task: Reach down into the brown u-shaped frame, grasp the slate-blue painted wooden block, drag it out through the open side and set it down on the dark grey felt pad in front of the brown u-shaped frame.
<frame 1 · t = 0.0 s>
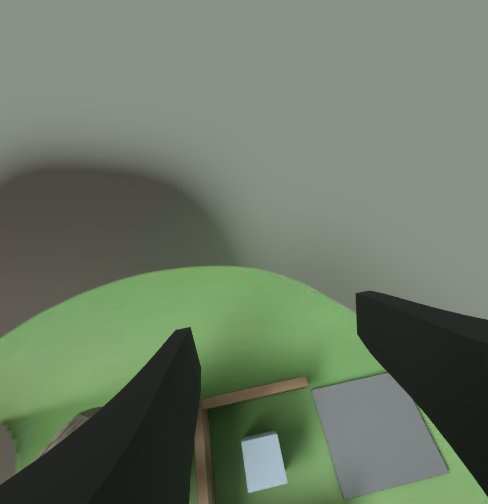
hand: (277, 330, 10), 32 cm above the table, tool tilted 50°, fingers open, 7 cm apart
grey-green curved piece: (139, 473, 32), on the table
pad: (372, 427, 33), on the table
block: (262, 453, 32), on the table
brown u-shaped frame: (269, 452, 32), on the table
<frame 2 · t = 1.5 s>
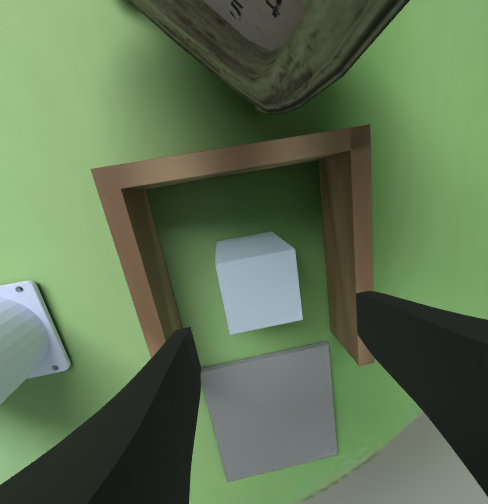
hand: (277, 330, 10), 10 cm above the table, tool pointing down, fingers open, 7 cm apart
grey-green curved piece: (221, 9, 15), on the table
pad: (273, 413, 24), on the table
block: (248, 262, 19), on the table
brown u-shaped frame: (250, 274, 20), on the table
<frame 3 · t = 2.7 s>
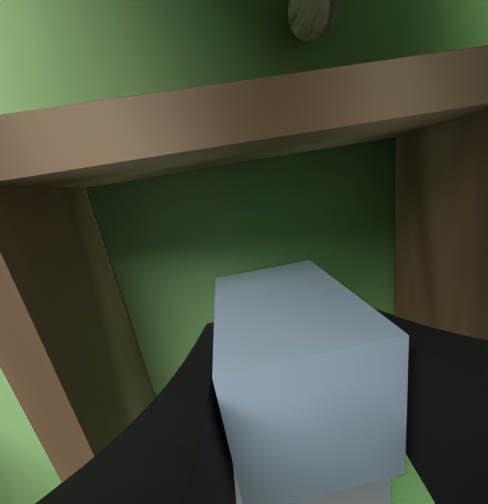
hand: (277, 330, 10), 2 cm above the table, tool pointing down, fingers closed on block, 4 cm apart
block: (269, 311, 12), on the table, touching gripper
brown u-shaped frame: (272, 329, 12), on the table
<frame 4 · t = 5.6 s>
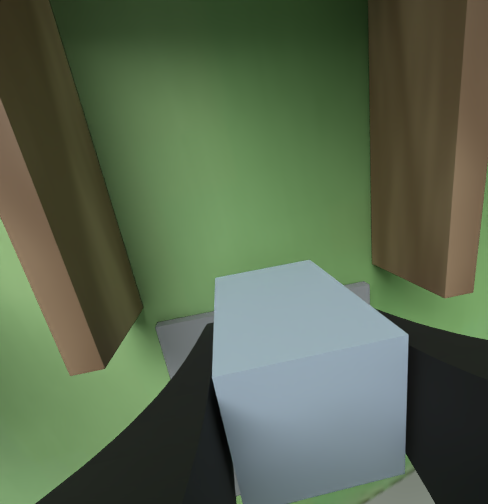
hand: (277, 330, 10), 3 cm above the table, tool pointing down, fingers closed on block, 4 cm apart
pad: (278, 398, 15), on the table
block: (269, 311, 12), point 2 cm above the table, touching gripper
brown u-shaped frame: (240, 151, 11), on the table
when the fingers open (3 cm above the table, at t = 8.5 s): block drops 1 cm, resting on pad.
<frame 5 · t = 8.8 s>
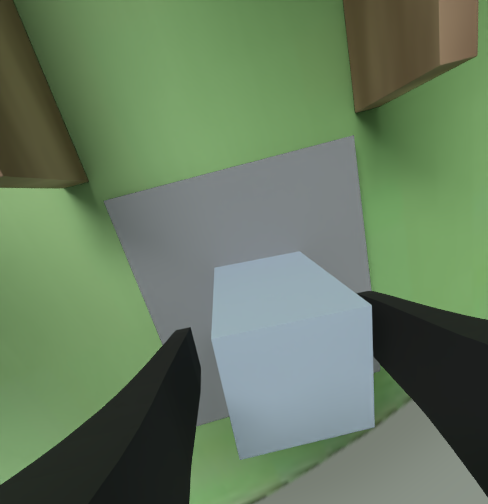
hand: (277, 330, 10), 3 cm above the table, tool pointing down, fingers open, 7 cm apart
pad: (263, 295, 13), on the table
block: (263, 298, 13), resting on pad
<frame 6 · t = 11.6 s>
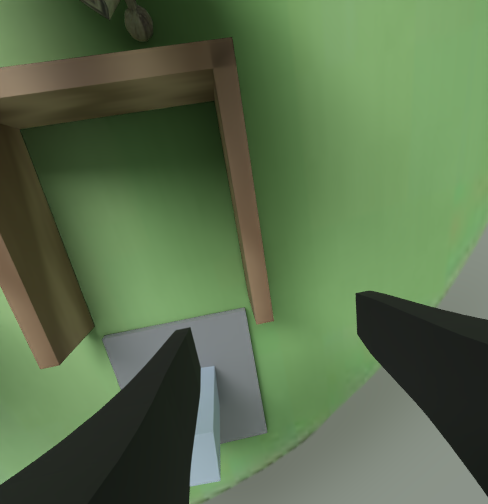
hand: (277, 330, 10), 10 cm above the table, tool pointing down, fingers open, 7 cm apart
pad: (193, 386, 22), on the table
block: (192, 390, 22), resting on pad
brown u-shaped frame: (150, 230, 18), on the table
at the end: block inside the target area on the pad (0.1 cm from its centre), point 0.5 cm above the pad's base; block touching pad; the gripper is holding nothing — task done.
